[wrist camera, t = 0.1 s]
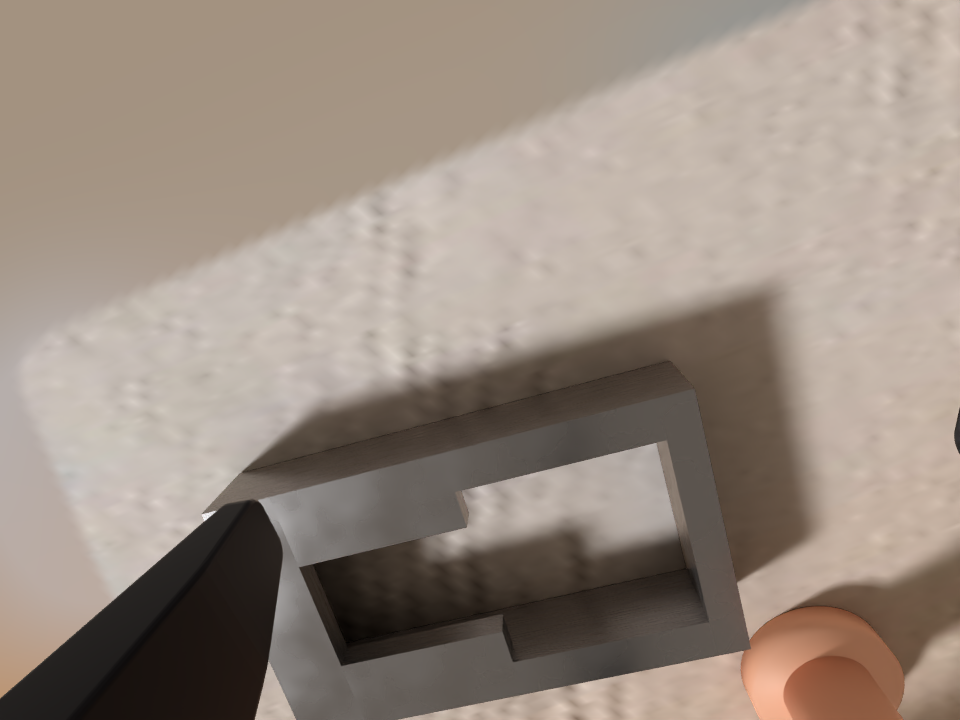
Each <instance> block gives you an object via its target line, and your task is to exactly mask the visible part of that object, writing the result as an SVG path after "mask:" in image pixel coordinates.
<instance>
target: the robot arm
mask: <svg viewBox="0 0 960 720" xmlns="http://www.w3.org/2000/svg"><path fill="white" fill-rule="evenodd" d="M954 438H955V444H956V447H957V450H958V452H959V454H960V409H959V413H958V418H957V422H956V427H955V432H954ZM282 561H283V548H282V543H281V540H280V538H279V536H278V534H277V532H276V530H275V528H274V526H273V524H272V523H271V521H270V519H269V517H268V515H267V513H266V511H265V509H264V507H263V506H262V504H261V503H260V502H259V501H258V500H256V499H246V500H240V501H234V502H229V503H226V504H224V505H223V506H222V507H221V508H219V509H218V510H217V511H216V512H215V513H214V514H212V515H211V516H210V517H209V518H208V519H207V520H206V521H204V522H203V523H202V524H201V525H200V526H199V527H197V528H196V529H195V530H194V531H193V532H192V533H191V534H189V535H188V536H187V537H186V538H185V539H184V540H182V541H181V542H180V543H179V544H178V545H177V546H176V547H174V548H173V549H172V550H171V551H170V552H169V553H167V554H166V555H165V556H164V557H163V558H162V559H161V560H159V561H158V562H157V563H156V564H155V565H154V566H152V567H151V568H150V569H149V570H148V571H147V572H146V573H144V574H143V575H142V576H141V577H140V578H139V579H137V580H136V581H135V582H134V583H133V584H132V585H131V586H129V587H128V588H127V589H126V590H125V591H124V592H122V593H121V594H120V595H119V596H118V597H117V598H116V599H114V600H113V601H112V602H111V603H110V604H109V605H107V606H106V607H105V608H104V609H103V610H102V611H101V612H99V613H98V614H97V615H96V616H95V617H94V618H93V619H91V620H90V621H89V622H88V623H87V624H86V625H84V627H82V628H81V629H80V630H79V631H77V632H76V634H74V635H73V636H72V637H71V638H69V639H68V640H67V641H66V642H65V643H64V644H63V645H61V646H60V647H59V648H58V649H57V650H56V651H54V652H53V653H52V654H51V655H50V656H49V657H48V658H46V659H45V660H44V661H43V662H42V663H41V664H40V665H38V666H37V667H36V668H35V669H34V670H32V671H31V672H30V673H29V674H28V675H27V676H26V677H24V678H23V679H22V680H21V681H20V682H19V683H18V684H16V685H15V686H14V687H13V688H12V689H11V690H9V691H8V692H7V693H6V694H5V695H4V696H3V697H1V698H0V720H255V716H256V712H257V708H258V704H259V700H260V696H261V692H262V688H263V683H264V679H265V674H266V670H267V665H268V659H269V654H270V648H271V640H272V633H273V626H274V619H275V612H276V604H277V597H278V590H279V583H280V576H281V568H282Z"/></svg>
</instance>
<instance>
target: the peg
mask: <svg viewBox="0 0 960 720" xmlns="http://www.w3.org/2000/svg"><path fill="white" fill-rule="evenodd" d="M749 642H750V646H751V649H749V650H744V653H743V656H742V661H741V676H742V680H743V683H744V686H745V688H746V690H747V693H748V695H749V697H750V699H751V701H752V704H753V706H754V708H755V710H756V712H757V714H758V716H759V718H760V720H903V718H902V717H901V715H900V714H899V713H898V711H897V709H898V707H899V705H900V703H901V701H902V697H903V694H904V686H905V685H904V675H903V671H902V668H901V666H900V663H899V662H898V660H897V658H896V657H895V655H894V654H893V653H892V652H891V651H890V649H889V648H888V647H887V646H886V644H885V643H884V642H883V641H882V639H881V638H880V637H879V636H878V634H877V633H876V632H875V631H874V630H873V628H872V627H871V626H870V625H869V624H868V623H867V622H865V621H864V620H863V619H862V618H860V617H858V616H857V615H855V614H853V613H851V612H848V611H846V610H842V609H839V608H834V607H826V606H811V607H804V608H799V609H795V610H791V611H789V612H786V613H783V614H781V615H779V616H777V617H775V618H773V619H772V620H770V621H769V622H767V623H766V624H765V625H763V626H762V627H761V628H760V629H759V630H758V631H757V632H756V633H755V634H754V635H753V637H752V638H751V639H750V641H749Z"/></svg>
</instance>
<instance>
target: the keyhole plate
mask: <svg viewBox="0 0 960 720" xmlns="http://www.w3.org/2000/svg"><path fill="white" fill-rule="evenodd" d="M653 443H657V447H658V451H659V455H660V459H661V463H662V468H663V472H664V476H665V480H666V484H667V489H668V493H669V497H670V501H671V505H672V509H673V514H674V518H675V522H676V526H677V530H678V535H679V539H680V543H681V547H682V551H683V555H684V560H685V564H686V568H687V569H683V570H679V571H674V572H670V573H665V574H660V575H656V576H651V577H647V578H642V579H638V580H633V581H628V582H624V583H619V584H615V585H610V586H605V587H601V588H596V589H592V590H587V591H583V592H578V593H573V594H569V595H564V596H560V597H555V598H551V599H546V600H541V601H537V602H532V603H528V604H523V605H519V606H514V607H509V608H505V609H500V610H496V611H491V612H486V613H482V614H477V615H473V616H468V617H464V618H459V619H454V620H450V621H445V622H441V623H436V624H432V625H427V626H422V627H418V628H413V629H409V630H404V631H399V632H395V633H390V634H386V635H381V636H377V637H372V638H367V639H363V640H358V641H354V642H349V643H346V642H345V640H344V638H343V635H342V633H341V630H340V628H339V626H338V623H337V621H336V619H335V616H334V614H333V611H332V609H331V607H330V604H329V602H328V600H327V597H326V595H325V592H324V590H323V588H322V585H321V583H320V580H319V578H318V576H317V573H316V571H315V569H314V566H313V564H315V563H319V562H323V561H327V560H332V559H336V558H340V557H344V556H349V555H353V554H357V553H361V552H365V551H370V550H374V549H378V548H382V547H386V546H391V545H395V544H399V543H403V542H407V541H412V540H416V539H420V538H424V537H429V536H433V535H437V534H441V533H445V532H450V531H454V530H458V529H462V528H466V527H467V523H468V516H469V512H468V509H467V506H466V503H465V500H464V497H463V494H462V490H466V489H470V488H474V487H478V486H482V485H486V484H490V483H494V482H498V481H502V480H506V479H511V478H515V477H519V476H523V475H527V474H531V473H535V472H539V471H543V470H547V469H551V468H555V467H559V466H563V465H567V464H572V463H576V462H580V461H584V460H588V459H592V458H596V457H600V456H604V455H608V454H612V453H616V452H620V451H624V450H628V449H633V448H637V447H641V446H645V445H649V444H653ZM246 499H256V500H258V501H259V502H260V503H261V504H262V506H263V507H264V509H265V511H266V513H267V515H268V517H269V519H270V521H271V523H272V524H273V526H274V528H275V530H276V532H277V534H278V536H279V538H280V540H281V543H282V548H283V561H282V568H281V576H280V583H279V590H278V597H277V604H276V612H275V619H274V626H273V633H272V640H271V648H270V654H269V662H270V664H271V666H272V668H273V670H274V672H275V675H276V677H277V679H278V681H279V683H280V685H281V687H282V690H283V692H284V694H285V696H286V698H287V700H288V703H289V705H290V707H291V709H292V711H293V713H294V716H295V718H296V720H398V719H403V718H408V717H413V716H418V715H423V714H428V713H433V712H438V711H443V710H448V709H453V708H458V707H463V706H468V705H473V704H478V703H483V702H488V701H493V700H498V699H503V698H508V697H513V696H518V695H523V694H528V693H533V692H538V691H543V690H548V689H553V688H558V687H563V686H568V685H573V684H578V683H583V682H588V681H593V680H598V679H603V678H608V677H613V676H619V675H624V674H629V673H634V672H639V671H644V670H649V669H654V668H659V667H664V666H669V665H674V664H679V663H684V662H689V661H694V660H699V659H704V658H709V657H714V656H719V655H724V654H729V653H734V652H739V651H744V650H749V649H751V646H750V642H749V637H748V632H747V628H746V623H745V618H744V614H743V609H742V605H741V600H740V595H739V591H738V586H737V581H736V577H735V572H734V568H733V563H732V558H731V554H730V549H729V545H728V540H727V535H726V531H725V526H724V521H723V517H722V512H721V508H720V503H719V498H718V494H717V489H716V484H715V480H714V475H713V471H712V466H711V461H710V457H709V452H708V447H707V443H706V438H705V434H704V429H703V424H702V420H701V415H700V411H699V406H698V401H697V397H696V392H695V388H694V387H693V386H692V385H691V384H690V383H689V382H688V380H687V379H686V378H685V377H684V376H683V375H682V374H681V372H680V371H679V370H678V369H677V368H676V367H675V366H674V365H673V363H672V362H671V361H667V362H663V363H659V364H656V365H652V366H648V367H644V368H640V369H636V370H633V371H629V372H625V373H621V374H617V375H614V376H610V377H606V378H602V379H598V380H594V381H591V382H587V383H583V384H579V385H575V386H572V387H568V388H564V389H560V390H556V391H553V392H549V393H545V394H541V395H537V396H533V397H530V398H526V399H522V400H518V401H514V402H511V403H507V404H503V405H499V406H495V407H491V408H488V409H484V410H480V411H476V412H472V413H469V414H465V415H461V416H457V417H453V418H449V419H446V420H442V421H438V422H434V423H430V424H427V425H423V426H419V427H415V428H411V429H407V430H404V431H400V432H396V433H392V434H388V435H385V436H381V437H377V438H373V439H369V440H365V441H362V442H358V443H354V444H350V445H346V446H343V447H339V448H335V449H331V450H327V451H323V452H320V453H316V454H312V455H308V456H304V457H301V458H297V459H293V460H289V461H285V462H281V463H278V464H274V465H270V466H266V467H262V468H259V469H255V470H251V471H247V472H243V473H240V474H239V475H238V476H237V477H236V478H235V479H234V480H233V481H232V482H231V483H230V484H229V485H228V486H227V488H226V489H225V490H224V491H223V492H222V493H221V494H220V495H219V496H218V497H217V498H216V499H215V500H214V501H213V502H212V504H211V505H210V506H209V507H208V508H207V509H206V510H205V511H204V512H203V513H202V514H201V515H202V517H203V519H204V521H206V520H207V519H208V518H209V517H210V516H211V515H212V514H214V513H215V512H216V511H217V510H218V509H219V508H221V507H222V506H223V505H224V504H226V503H229V502H234V501H240V500H246Z"/></svg>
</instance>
